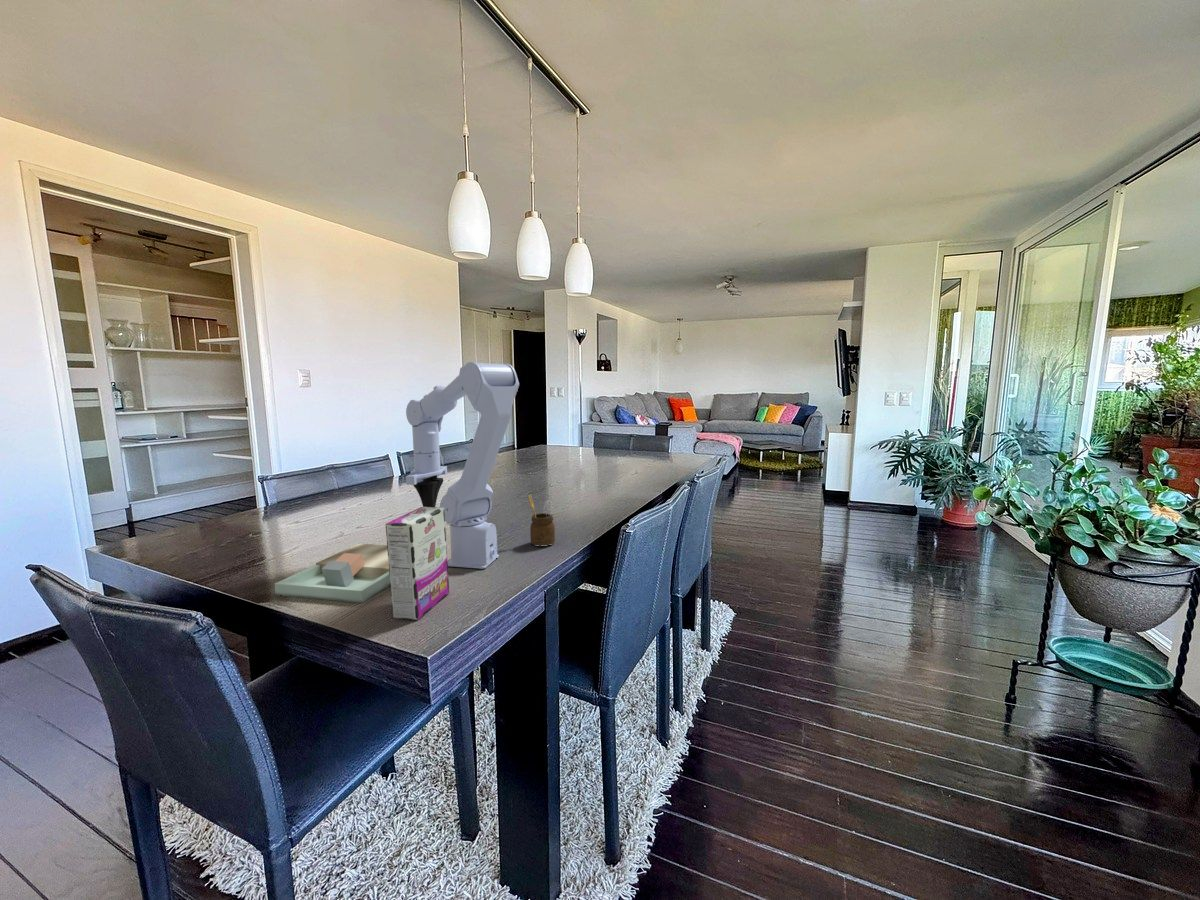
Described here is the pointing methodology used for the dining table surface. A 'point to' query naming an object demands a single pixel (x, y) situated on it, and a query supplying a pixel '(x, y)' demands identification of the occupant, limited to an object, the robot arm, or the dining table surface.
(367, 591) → the sage tray
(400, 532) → the candy bar box
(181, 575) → the dining table surface
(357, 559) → the terracotta block
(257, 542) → the dining table surface
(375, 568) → the birch plate
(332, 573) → the slate-grey block
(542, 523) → the utensil holder
